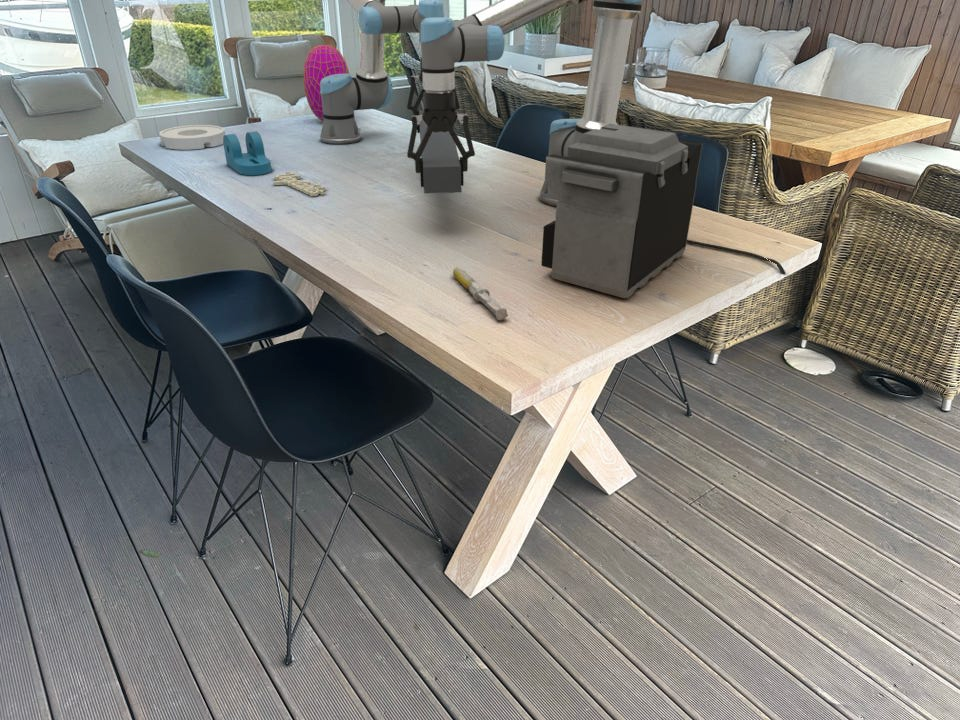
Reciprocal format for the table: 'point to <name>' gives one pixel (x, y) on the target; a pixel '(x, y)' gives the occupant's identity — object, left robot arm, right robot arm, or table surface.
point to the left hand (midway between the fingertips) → (434, 131)
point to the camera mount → (246, 154)
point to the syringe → (479, 293)
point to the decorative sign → (299, 184)
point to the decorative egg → (321, 73)
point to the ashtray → (192, 137)
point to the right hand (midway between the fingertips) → (442, 184)
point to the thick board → (440, 162)
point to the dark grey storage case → (619, 207)
